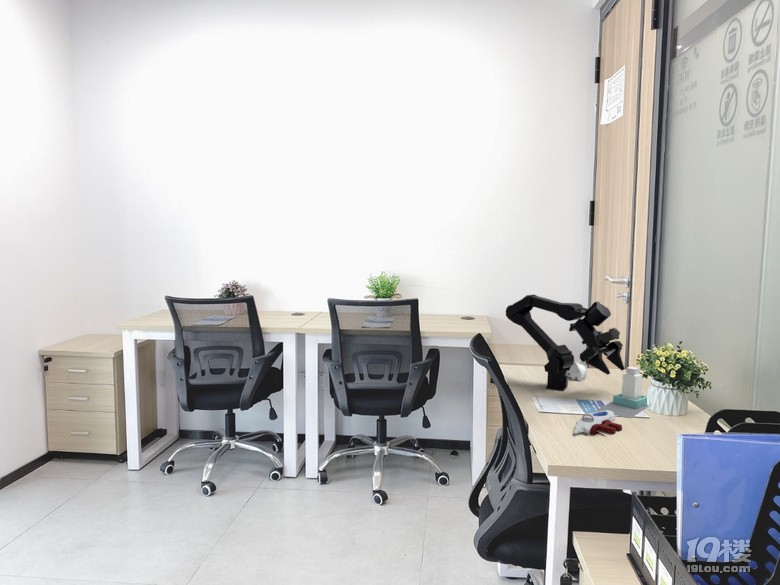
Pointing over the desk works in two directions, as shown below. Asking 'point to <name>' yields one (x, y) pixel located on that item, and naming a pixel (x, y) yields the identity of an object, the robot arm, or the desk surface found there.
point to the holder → (630, 401)
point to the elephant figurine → (578, 371)
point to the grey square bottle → (632, 383)
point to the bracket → (605, 427)
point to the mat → (622, 410)
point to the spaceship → (592, 421)
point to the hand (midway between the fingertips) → (616, 371)
